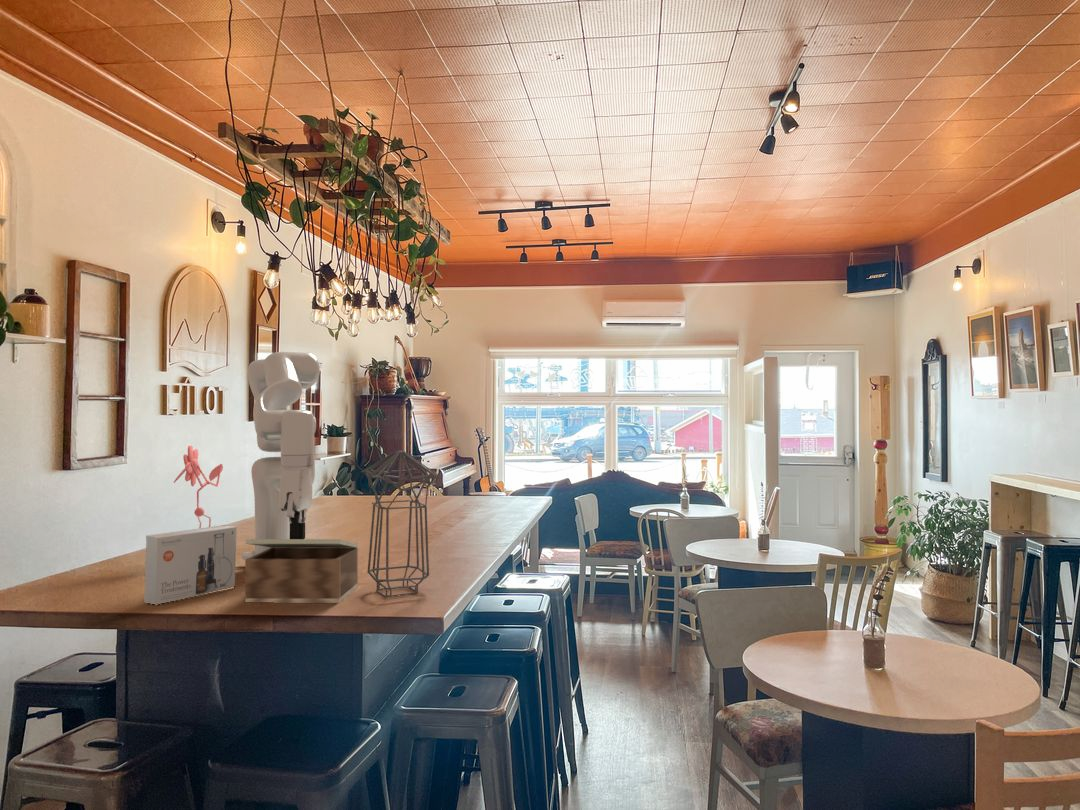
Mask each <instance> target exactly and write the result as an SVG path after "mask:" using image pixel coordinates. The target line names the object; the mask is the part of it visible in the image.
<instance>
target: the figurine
mask: <svg viewBox="0 0 1080 810" xmlns="http://www.w3.org/2000/svg"><path fill="white" fill-rule="evenodd" d="M193 447H194V446H193V445H192V444H191V445H188V446H187V454H186V453H184V454H183V459H182V460H183V464H184V465H185V467H184V469H182V470H181V471H180V472H179V474H178V476H176V478H174V481H173V483H174V484H175V483H176V482H177V481H178V480H179V479H180V478H181V477H182V475H184V474H185V475H184V476H185V477H184V481H185V482H189V481H190V486H191V487H194V486H195V485H196V483H197V481H198V483H199V485H200V488H198V489H197V491H196V509H194V515H195V517H196V518H197V520H198V522H199V527H198V529H199V528H202V521H201V519H200V517H202V516H204V517H205V518H208V520H209V521H208V527H211V521H212V520H211V519H212V518H211V517H210V516H208V515H206V514H205V510H204V509H203V508H202V507H200V505H199V503H200V501H199V500H200V498H199V497H200V496H199V495H200V491H201V490H202V489H204V488H205V487H206V486H207V485H210V486H211V485H212V486H214V487H218V485H219V483H220V479H221V478H220V477H221V473H222V471H223V470H224V469H223V467H224V466H223V464H222V463H220V464H218V465H216V466H215V467H214V468H213V469H212V470H211V471H210V473H209V475H208V478H209V480H208V479H207V477H206V476H205V474H204V473H203V471H202V469H201V466H200V464H199V449H198V448H195V449H194V448H193ZM201 475H202V477H203V479H204V481H205V482H203V483H202V482H201V480H200V477H199V476H201ZM216 478H217V480H216V483H213V482H212V481H214V479H216Z"/></svg>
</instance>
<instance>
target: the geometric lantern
mask: <svg viewBox="0 0 1080 810" xmlns="http://www.w3.org/2000/svg"><path fill="white" fill-rule="evenodd" d="M397 461H398V469H397V470H394V467H395V465H396V463H397ZM403 462H404V465H405V468H406V469H404V470H403ZM409 466H410V468H409ZM414 466H415V468H414ZM374 469H375V470H374ZM417 471H419V472H420V476H414V477H413V474H414V473H415V472H417ZM360 473H364V474H365V476H366V478H367V480H368V488H372V491H373V493H374V498H375V501H374V502H371V505H372V514H371V526H370V537H369V538H370V539H369V552H368V563H367V565H368V566H367V573H368V575H369V576H370V577H371V578H372V579H373V580H374V582H375V583H376V592H377V593H378V592H379V594H380V595H382V596H383V597H385V598H391V597H392V596H393V597H399V596H398V595H400V596H406V595H405V594H408V595H413V593H415V594H418V593H419V585H420V584H421V583H423V581H424V580H426V579H427V578H428V577H429V576H430V566H429V565H430V562H429V560H430V559H429V537H428V536H429V535H428V534H429V533H428V532H429V531H428V508H427V507H428V506H427V502H428V501H427V500H428V493H429V492H428V491H429V487H431V485H432V484H433V483H434V481H435V480H436V479H437V477H438V476H439V474H438V473H436V472H435V471H434V470H433V469H431V468H429V467H428V466H427V465H425V464H423V463H422V462H421V461H419V460H418V459H416V458H415V457H413V456H412V455H411V454H409V453H408V452H406V451H404V450H395V451H394V452H391V453H390V454H387V455H386V456H384V457H383V458H382V459H380V460H378V461H377V462H375V463H373V464H372V465H370V466H368V467H366V468H365V469H363V470H361V471H360ZM391 473H398V474H397V476H396V475H391ZM403 473H408V474H407V475H406V476H405V477H404V478H401V476H402V474H403ZM381 475H382V476H381ZM372 479H374V484H373V481H372ZM379 479H380V480H381V481H384V482H385V484H384V486H383V488H382V491H381V493H380V495H379V496H378V492H377V491H376V487H377V484H378V481H379ZM392 479H397V482H395V481H392ZM419 479H420V480H421V481H420V482H417V484H415V485H413V483H412V481H413V480H419ZM405 481H407V482H409V484H410V487H405V486H404V485H403V483H404V482H405ZM388 484H390V485H392V486H394V487H395V488H396V489H398V490H399V491H398V493H397V494H396V495H395V497H394V498H393V499H392V500H386V501H385V500H382V501H381V499H382V498H383V497H382V496H383V495H384V492H385V490H386V489H387V486H388ZM419 486H421V487H420V489H419V492H418V493H417V494H416V492H415V489H416V488H418V487H419ZM401 487H402V488H401ZM424 487H426V491H425V492H426V493H425V501H424V503H422V502H420V501H419V497H420V495H421V494H422V491H423V489H424ZM410 490H411V491H412V493H413V496H414V499H413V498H412V497H411V495H410V493H409V492H408V491H410ZM404 491H405V493H406V494H407V495H408V496H409V498H410V499H411V500H410V499H405V500H396V499H397V498H398V496H399V494H401V492H404ZM405 502H407V503H408V502H409V506H400V507H399V506H395V507H391V505H392V504H393V503H405ZM385 503H389V505H387V507H385V506H382V504H385ZM413 504H415V506H413ZM376 507H377V515H376V525H375V513H376ZM398 509H399V510H401V509H405V510H406V509H409V515H408V516H409V519H408V539H407V542H408V543H407V559H406V560H407V562H406V565H399V566H389V542H390V541H389V537H390V536H389V528H390V527H389V525H390V524H389V521H390V519H389V517H390V516H389V513H390V512H389V511H390V510H398ZM413 509H414V510H415V512H414V513H415V537H416V538H415V539H416V540H415V541H416V542H415V544H416V566H415V565H411V564H410V559H411V537H412V513H413ZM418 509H419V512H418ZM423 509H424V525H423ZM384 510H385V511H386V512H385V513H386V514H385V515H386V516H385V517H386V518H385V520H386V521H385V529H386V530H385V531H386V533H385V534H386V535H385V541H386V542H385V550H386V551H385V555H386V556H385V558H386V559H385V567H380V560H381V559H380V558H381V543H382V529H383V520H384V519H383V518H384V517H383V516H384ZM418 513H419V515H418ZM418 516H419V517H418ZM418 518H419V519H418ZM374 525H375V536H374ZM419 525H420V528H419ZM424 527H425V528H424ZM419 529H420V546H421V547H420V548H421V550H420V548H419ZM424 530H425V532H424ZM424 533H425V534H424ZM424 535H425V546H424ZM373 538H374V539H375V540H374V551H372V549H373ZM424 547H425V552H424ZM419 551H421V567H420V557H419V555H420V554H419ZM372 552H373V561H372ZM424 554H425V555H426V557H425V555H424ZM425 558H426V571H425ZM371 561H372V568H371ZM408 568H409V569H414V570H413V571H412V572H411V574H409V576H408V577H406V576H407V573H408V572H407V571H408ZM395 569H398V570H399V569H405V571H404V576H403V577H399V578H389V570H395ZM383 570H384V571H385V578H384V579H382V578H381V579H380V578H379V575H380V573H379V571H383ZM417 570H418V571H420V572H421V574H422V576H421V577H419V576H417V577H412V576H413V574H415V572H416V571H417ZM417 580H419V581H418V582H415V581H417ZM401 581H402V585H398V586H390V582H401ZM405 581H406V585H405ZM385 582H386V584H387V586H388V587H386V586H385V585H384V584H383V583H385ZM409 582H411V583H413V585H409ZM380 587H382V588H380ZM408 587H409V588H408ZM405 588H406V589H407V588H408V589H411V590H412V591H413V592H405V593H397V594H392V593H393V590H398V589H405ZM383 589H384V590H385V593H383V592H381V591H383ZM388 590H389V595H388Z"/></svg>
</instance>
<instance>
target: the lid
mask: <svg viewBox="0 0 1080 810" xmlns="http://www.w3.org/2000/svg"><path fill="white" fill-rule="evenodd" d="M245 544H246V545H253V546H255V545H258V546H264V547H271V548H358V543H356V542H354V541H353V542H351V541H350V540H349V541H348V540H343V539H340V538H332V539H331V538H327V539H326V538H325V539H322V538H317V539H315V538H312V539H311V538H310V539H309V538H308V539H306V538H305V539H290V538H289V539H255V538H254V539H249V538H247V539H245Z"/></svg>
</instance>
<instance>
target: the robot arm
mask: <svg viewBox="0 0 1080 810" xmlns="http://www.w3.org/2000/svg"><path fill="white" fill-rule="evenodd" d="M320 368H321V366H320V363H319V360H318V358H317V357H316V356H315V355H314V354H312V353H310V352H299V351H298V352H294V351H293V352H292V351H277V352H272V353H270V354H269V355H267V356H266V357H265V358H263V359H262V358H261V359H257V360H253V361H251V362H250V363H249V365H248V367H247V379H248V383H249V387H250V391H251V393H252V395H253V397H254V401H255V402H254V403H253V410H252V414H253V423H254V424H253V425H254V429H255V433H256V443H257V447H258V448H259V450H261V451H262V452H266V453H280V456H266V457H262V458H258V459H257V460H255V461H254V462H253V464H252V465H251V480H252V486H253V497H254V539H306V519H307V518H306V517H307V512H308V509H309V508H310V507H311V506H312V504H313V485H314V483H315V477H316V462H315V461H316V460H315V459H316V458H315V456H316V452H315V433H316V429H317V419H316V417H315V416H314V414H313V412H311V411H310V410H305V409H288V407H289V406H291V405H294V404H295V403H296V402H297V401H299V399H300V398H301V396H302V393H303V390H307V389H310V388H311V387H313V386H314V385H315V384H316V383H317V382H318V380H319V378H320V373H321V369H320ZM270 548H271V547H264V546H258V545H254V550H253V551H251V552H250V551H245V552H244V551H242V552H241V554H240V555H241V556H240V557H241V559H242V560H246V559H248V558H250V557H252V556H255V555H257V554H259V553H261V552H263V551H265V550H268V549H270Z"/></svg>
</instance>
